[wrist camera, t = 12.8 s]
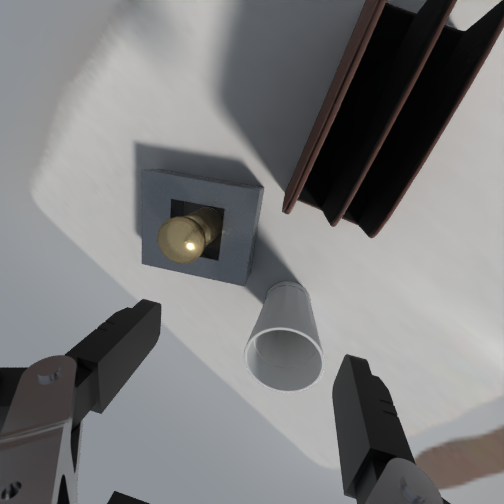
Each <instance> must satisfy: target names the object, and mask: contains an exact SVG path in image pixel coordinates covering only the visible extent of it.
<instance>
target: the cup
mask: <svg viewBox="0 0 504 504" xmlns="http://www.w3.org/2000/svg"><path fill="white" fill-rule="evenodd" d="M244 362H245V366H246V368H247V370H248V372H249V373H250V375H251V376H252V377H253V378H254V379H255V380H256V381H257V382H258V383H259V384H261V385H262V386H264V387H266V388H268V389H271V390H273V391H277V392H283V393H295V392H300V391H303V390H306V389H308V388H310V387H312V386H313V385H314V384H316V383H317V382H318V381H319V379H320V378H321V376H322V374H323V372H324V368H325V359H324V355H323V351H322V347H321V343H320V340H319V336H318V332H317V327H316V323H315V319H314V315H313V311H312V307H311V301H310V296H309V294H308V292H307V290H306V289H305V288H304V287H303V286H301V285H300V284H298V283H295V282H291V281H283V282H279V283H277V284H275V285H273V286H272V287H271V288H270V289H269V291H268V292H267V295H266V299H265V302H264V305H263V307H262V310H261V312H260V315H259V317H258V320H257V322H256V325H255V327H254V329H253V331H252V333H251V336H250V338H249V340H248V342H247V345H246V347H245V351H244Z"/></svg>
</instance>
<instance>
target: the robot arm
mask: <svg viewBox="0 0 504 504" xmlns="http://www.w3.org/2000/svg"><path fill="white" fill-rule="evenodd" d="M160 326H161V304H160V303H157V302H153V301H149V300H145V299H142V300H141V301H140V302H138V303H137V304H136V305H135V306H134V307H133V308H128V307H127V308H125V309H123V310H120V311H118V312H116V313H114V314H113V315H112V316H111V317H110V318H108V319H107V320H106V322H104V323H102V324H101V325H100V326H99V327H98V328H97V329H95V330H94V331H93V332H91V333H90V334H89V335H88V336H87V337H85V338H84V339H83V340H82V341H81V342H80V343H78V344H77V345H76V346H75V347H73V348H72V349H71V350H70V351H69V352H67V353H66V354H65V355H58V356H51V357H48V358H44V359H42V360H40V361H38V362H36V363H34V364H32V365H31V366H30V367H28V368H0V504H77V481H78V469H79V457H80V447H81V437H82V427H83V426H82V425H83V418H84V417H85V416H86V415H87V413H88V412H89V411H90V410H91V411H94V412H97V413H100V414H101V413H102V412H103V411H104V410H105V408H106V407H107V406H108V405H109V403H110V402H111V401H112V400H113V398H114V397H115V396H116V394H117V393H118V392H119V391H120V389H121V388H122V387H123V385H124V384H125V383H126V382H127V380H128V379H129V378H130V377H131V375H132V374H133V373H134V371H135V370H136V369H137V368H138V366H139V365H140V364H141V363H142V361H143V360H144V359H145V357H146V356H147V355H148V354H149V352H150V351H151V350H152V349H153V347H154V346H155V344H156V343H157V341H158V338H159V335H160ZM332 398H333V406H334V415H335V423H336V431H337V440H338V448H339V456H340V465H341V473H342V481H343V489H344V495H346V496H349V497H352V498H355V499H356V500H357V504H450V503H449V502H447V501H446V500H444V499H443V498H442V497H441V495H440V493H439V491H438V489H437V487H436V485H435V484H434V482H433V481H432V480H431V479H430V477H429V476H428V475H427V474H426V473H425V472H424V471H423V470H422V469H421V468H419V467H418V466H417V465H416V464H415V461H414V458H413V456H412V453H411V450H410V448H409V445H408V442H407V439H406V436H405V434H404V431H403V428H402V425H401V423H400V420H399V417H397V412H396V409H395V406H393V401H392V398H391V395H390V393H389V390H388V388H387V387H386V386H385V384H384V383H383V382H382V380H381V379H380V378H379V377H377V376H374V375H372V374H371V370H370V367H369V364H368V361H367V360H366V359H363V358H359V357H355V356H351V355H348V354H347V355H345V357H344V359H343V361H342V364H341V366H340V369H339V371H338V374H337V376H336V379H335V381H334V385H333V392H332ZM107 504H149V503H147V502H144V501H141V500H138V499H136V498H133V497H130V496H127V495H124V494H122V493H119V492H116V491H114V493H113V494H112V496H111V498H110V500H109V502H108V503H107Z"/></svg>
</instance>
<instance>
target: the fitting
mask: <svg viewBox="0 0 504 504" xmlns="http://www.w3.org/2000/svg"><path fill="white" fill-rule="evenodd" d="M222 228H223V221H222V218H221V216H220V214H219V213H218V212H217V211H216V210H214V209H212V208H208V207H204V208H200V209H198V210H196V211H194V212H191V213H189V214H187V215H185V216H177V217H174V218H171V219H169V220H167V221H165V222H164V223H163V224H162V225H161V227H160V229H159V231H158V237H157V238H158V244H159V247H160V249H161V251H162V253H163V254H164V255H165V256H166V257H167V258H168V259H170V260H171V261H173V262H175V263H179V264H188V263H191V262H193V261H195V260H196V259H197V258H198V257H199V256H200V255H201V254H202V253H203V252H204V249H205V247H206V246H207V245H208V244H210V243H211V242H212V241H213V240H214V239H215V238H216V237H217V236H218V235H219V234H220V233H221V231H222Z"/></svg>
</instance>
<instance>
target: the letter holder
mask: <svg viewBox="0 0 504 504" xmlns="http://www.w3.org/2000/svg"><path fill="white" fill-rule="evenodd" d="M386 1H387V0H366V1H365V4H364V6H363V9H362V11H361V14H360V16H359V19H358V21H357V24H356V26H355V29H354V31H353V33H352V36H351V38H350V40H349V43H348V45H347V48H346V50H345V52H344V55H343V57H342V60H341V62H340V65H339V67H338V69H337V72H336V74H335V76H334V79H333V81H332V83H331V86H330V88H329V91H328V93H327V95H326V98H325V100H324V102H323V105H322V107H321V110H320V112H319V115H318V117H317V119H316V122H315V124H314V126H313V129H312V131H311V133H310V136H309V138H308V141H307V143H306V145H305V148H304V150H303V152H302V155H301V157H300V160H299V162H298V164H297V167H296V169H295V172H294V174H293V176H292V178H291V181H290V183H289V185H288V187H287V189H286V191H285V196H284V202H283V208H282V209H283V210H282V212H284V213H285V214H289V213H290V212H291V211H292V209H293V207H294V205H295V203H296V201H297V200H298V201H300V202H303V203H305V204H308V205H310V206H312V207H315V208H317V209H319V210H322V211H323V213H324V215H325V217H326V218H327V220H328V222H329V223H330V225H331V226H332V227H334V226H336V225H337V224H338V222H339V221H340V219H341V218H342V219H344V220H347V221H349V222H352V223H354V224H356V225H359V227H361V229H362V230H363V231H364V232H365V233H366V234H367V235H368V237H370V238H374V237H375V236H376V235H377V234H378V233H379V232H380V230H381V229H382V228H383V226H384V225H385V224H386V222H387V221H388V220H389V218H390V217H391V215H392V214H393V212H394V210H395V209H396V207H397V206H398V204H399V203H400V201H401V199H402V198H403V196H404V195H405V193H406V191H407V190H408V188H409V187H410V185H411V183H412V182H413V180H414V179H415V177H416V176H417V174H418V172H419V171H420V169H421V168H422V166H423V165H424V163H425V161H426V160H427V158H428V156H429V155H430V153H431V151H432V149H433V148H434V146H435V145H436V143H437V141H438V140H439V138H440V136H441V135H442V133H443V131H444V130H445V128H446V126H447V125H448V123H449V121H450V120H451V118H452V116H453V114H454V113H455V111H456V109H457V108H458V106H459V104H460V103H461V101H462V100H463V98H464V96H465V94H466V93H467V91H468V89H469V88H470V86H471V84H472V83H473V81H474V79H475V77H476V75H477V74H478V72H479V70H480V69H481V67H482V65H483V64H484V62H485V60H486V58H487V57H488V55H489V53H490V51H491V49H492V47H493V46H494V44H495V42H496V40H497V38H498V37H499V35H500V33H501V31H502V29H503V27H504V0H502V1H501V2H500V3H499V4H497V5H496V6H495V7H494V8H493V9H491V10H490V11H489V12H488V13H487V14H485V15H484V16H483V17H482V18H481V19H480V20H478V21H477V22H476V23H475V24H474V25H472V26H471V27H470V28H469V29H468V30H466V31H461V30H457V29H454V28H451V27H448V26H446V25H445V23H446V21H447V19H448V17H449V15H450V13H451V11H452V9H453V7H454V5H455V3H456V1H457V0H427V1H426V3H425V4H424V5H423V6H422V8H421V9H420V10H419V12H418V13H417V14H416V13H412V12H409V11H406V10H403V9H401V8H398V7H396V6H393V5H391V4H388V3H386Z"/></svg>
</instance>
